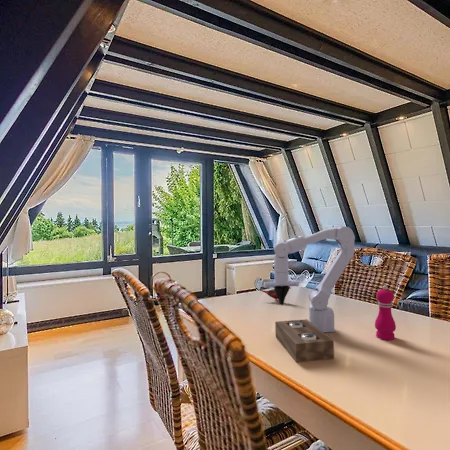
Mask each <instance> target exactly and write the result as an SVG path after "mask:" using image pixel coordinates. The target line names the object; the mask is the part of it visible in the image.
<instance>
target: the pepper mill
mask: <svg viewBox="0 0 450 450" xmlns="http://www.w3.org/2000/svg"><path fill="white" fill-rule="evenodd" d="M375 296H376V299H377V305H378V314H377V316H376V319H375V322H374V328H375V329H376V332H375V334H376V335H375V336H376V338H377V339H379V340H384V341H393V340H394V339H395V333H394V332H395V331H396V328H397V325H396V321H395V319H394V317H393V314H392V308H393V301H394V299H395V294H394V293H393V291H391V290H389V289H388V286H387V285H385V284H384V285H382V288H381V289H379V290H378V291H377V292H376V295H375Z"/></svg>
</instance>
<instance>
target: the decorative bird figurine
mask: <svg viewBox="0 0 450 450" xmlns="http://www.w3.org/2000/svg"><path fill="white" fill-rule="evenodd" d="M288 288H289V290H290V289H291V286H288ZM259 291H260V292H262V293H265V294H266V295H268V296H269V297H271V298H273V299H274V302H277V303H279V300H278V296H277V294H276V291H275V289H274V288H272V289H268V290H265V289H259Z"/></svg>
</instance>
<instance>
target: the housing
mask: <svg viewBox="0 0 450 450" xmlns="http://www.w3.org/2000/svg"><path fill="white" fill-rule="evenodd" d="M290 322H300V323H302V324H303V327H299V328H291V327H289V323H290ZM274 324H275V327H274V328H275V329H274V330H275V338H276V340H277V341H278V342H279V343H280V345H282V347H283V348H284V349H285V351H286V352H287V353H288V354H289V355H290V357H292V359H293V360H294V361H295V363H299V362H300V363H302V362H311V361H322V360H323V361H324V360H332V359H334V358H335V357H334V356H335V355H334V354H335V353H334V352H335V351H334V345H335V344H334V342H335V341H334V340H333V339H332V338H331V337H330V336H329V335H327V334H326V332H322V331H321V330H320V329H318V328H317V327H316V326H315V325H314V324H312V323H311V322H310V321H309V319H306V318H305V319H294V320H291V319H290V320H280V321H275V323H274ZM303 333H312V334H315V335H316V340H306V341H304V340H303V339H302V338H301V334H303Z"/></svg>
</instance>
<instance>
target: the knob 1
mask: <svg viewBox="0 0 450 450" xmlns="http://www.w3.org/2000/svg"><path fill="white" fill-rule="evenodd" d="M289 327H291V328H299V327H303V324H302V323H300V322H290V323H289Z"/></svg>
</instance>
